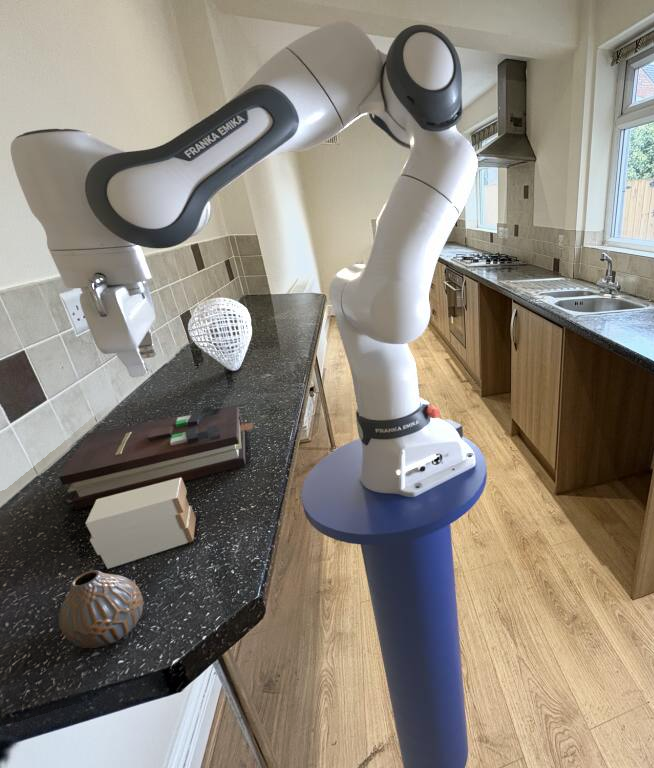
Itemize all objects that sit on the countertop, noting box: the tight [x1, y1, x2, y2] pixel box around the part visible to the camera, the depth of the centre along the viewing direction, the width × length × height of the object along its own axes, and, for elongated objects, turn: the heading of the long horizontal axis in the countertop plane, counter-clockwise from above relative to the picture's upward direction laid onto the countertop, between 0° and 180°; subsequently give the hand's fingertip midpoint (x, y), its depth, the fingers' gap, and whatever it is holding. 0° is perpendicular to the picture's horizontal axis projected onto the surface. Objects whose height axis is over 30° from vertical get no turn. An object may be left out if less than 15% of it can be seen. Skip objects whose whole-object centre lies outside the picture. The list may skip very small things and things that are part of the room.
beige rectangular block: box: [89, 498, 197, 570], centre depth 62 cm, size 10×6×6 cm, turn 122°
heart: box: [187, 297, 253, 372], centre depth 128 cm, size 28×16×22 cm, turn 32°
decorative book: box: [58, 401, 254, 510], centre depth 82 cm, size 19×8×30 cm
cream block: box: [85, 477, 188, 539], centre depth 61 cm, size 10×6×3 cm, turn 123°
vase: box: [58, 569, 144, 649], centre depth 48 cm, size 7×7×9 cm
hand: (145, 365), depth 61 cm, fingers open, 8 cm apart
